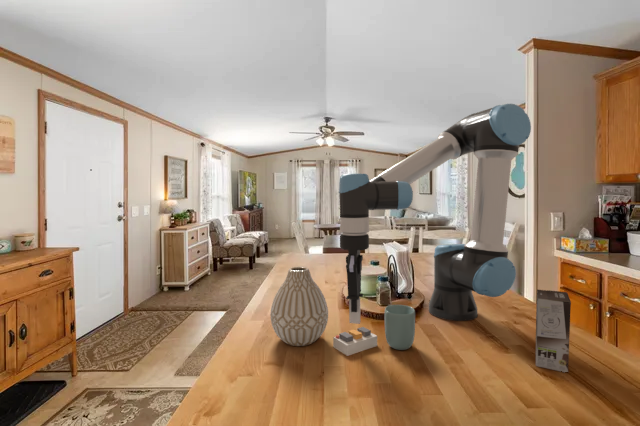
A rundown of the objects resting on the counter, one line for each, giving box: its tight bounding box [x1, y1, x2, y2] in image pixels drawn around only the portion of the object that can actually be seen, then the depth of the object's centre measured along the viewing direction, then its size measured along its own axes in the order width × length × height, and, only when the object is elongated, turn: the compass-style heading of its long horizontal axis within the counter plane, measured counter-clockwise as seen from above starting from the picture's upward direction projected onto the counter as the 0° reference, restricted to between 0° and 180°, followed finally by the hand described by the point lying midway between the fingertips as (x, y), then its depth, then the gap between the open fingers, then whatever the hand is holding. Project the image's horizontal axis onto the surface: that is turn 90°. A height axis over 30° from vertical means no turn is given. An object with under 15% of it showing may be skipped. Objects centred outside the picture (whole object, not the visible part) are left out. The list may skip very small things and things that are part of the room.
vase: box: [269, 266, 329, 347], centre depth 96 cm, size 16×16×20 cm
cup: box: [384, 304, 416, 351], centre depth 91 cm, size 8×8×10 cm
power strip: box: [332, 326, 378, 357], centre depth 92 cm, size 10×6×4 cm, turn 123°
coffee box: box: [535, 289, 572, 373], centre depth 82 cm, size 9×6×16 cm
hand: (354, 322), depth 91 cm, fingers closed
